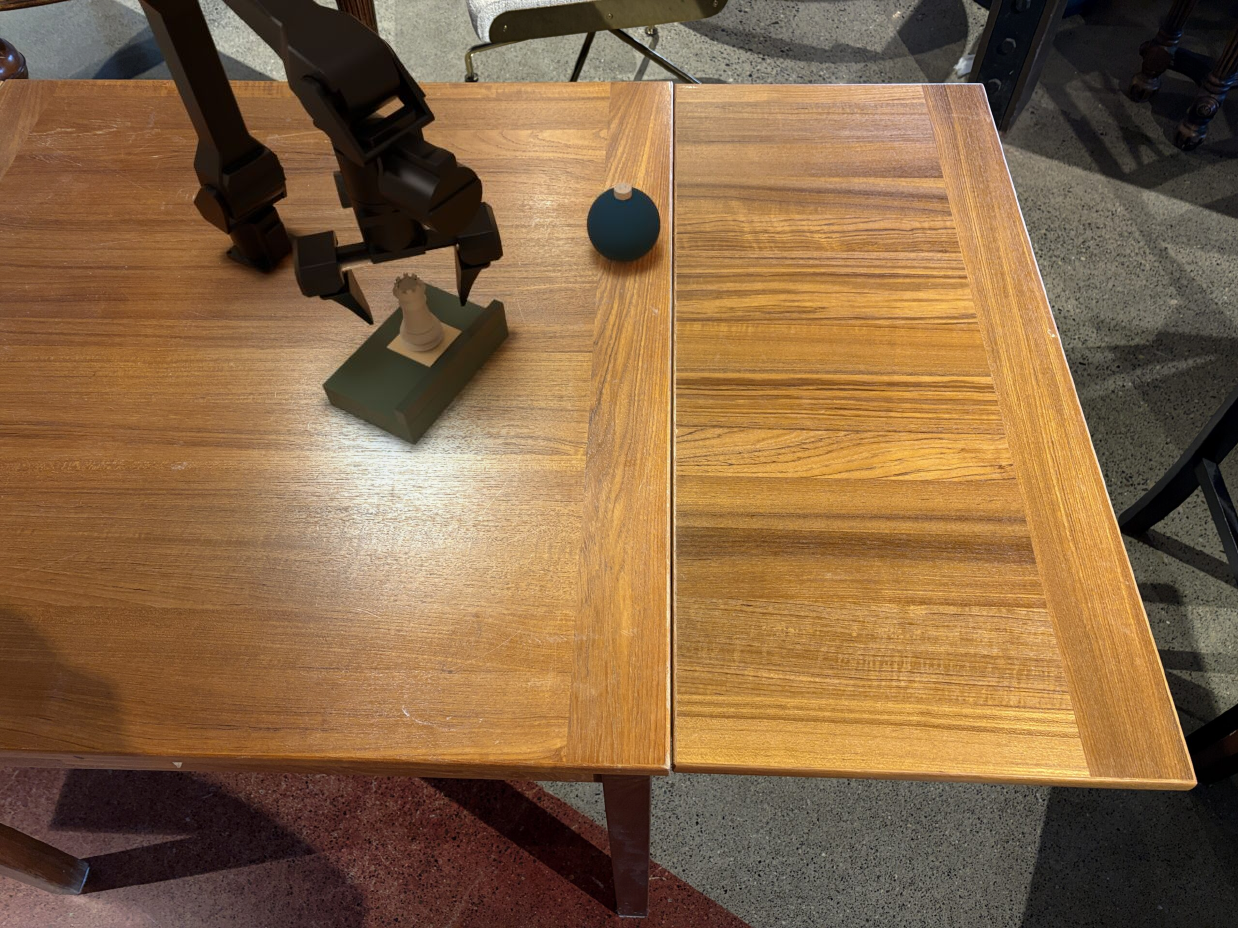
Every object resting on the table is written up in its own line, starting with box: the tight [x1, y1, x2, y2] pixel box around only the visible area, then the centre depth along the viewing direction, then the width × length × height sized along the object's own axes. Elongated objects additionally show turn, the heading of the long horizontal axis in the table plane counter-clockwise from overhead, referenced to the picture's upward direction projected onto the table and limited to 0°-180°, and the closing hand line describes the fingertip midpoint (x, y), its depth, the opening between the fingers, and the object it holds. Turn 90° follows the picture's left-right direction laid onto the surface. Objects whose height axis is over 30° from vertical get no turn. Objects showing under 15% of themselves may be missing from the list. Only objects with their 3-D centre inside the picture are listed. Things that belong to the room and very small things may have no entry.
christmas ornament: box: [586, 181, 662, 264], centre depth 101 cm, size 8×8×10 cm
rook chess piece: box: [392, 272, 444, 352], centre depth 90 cm, size 4×4×8 cm
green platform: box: [322, 281, 510, 446], centre depth 93 cm, size 11×17×5 cm, turn 150°
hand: (417, 312), depth 90 cm, fingers open, 9 cm apart
